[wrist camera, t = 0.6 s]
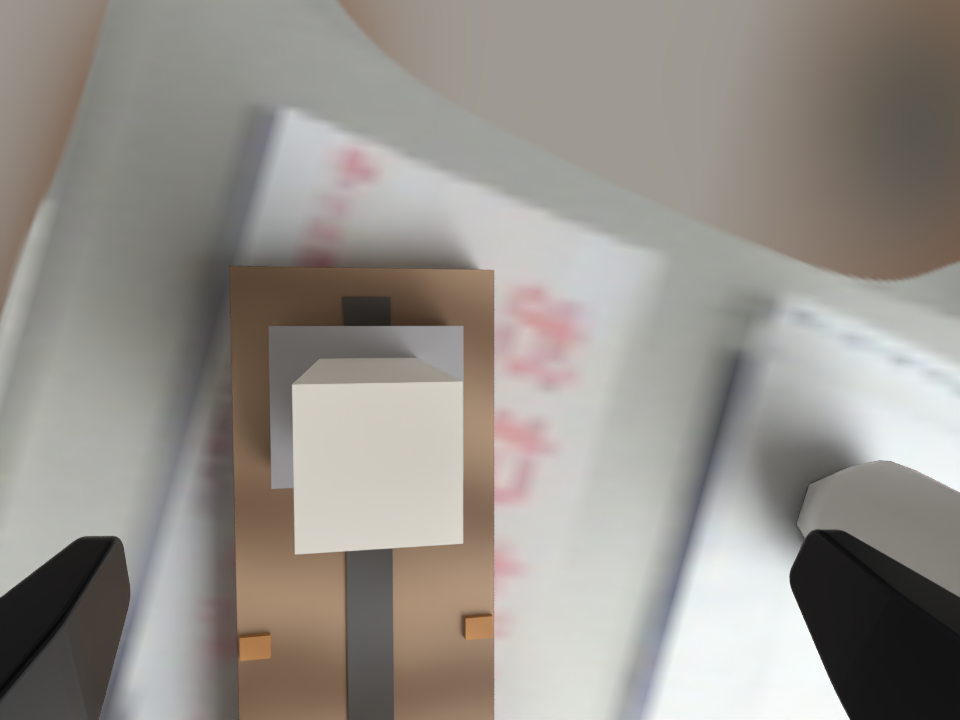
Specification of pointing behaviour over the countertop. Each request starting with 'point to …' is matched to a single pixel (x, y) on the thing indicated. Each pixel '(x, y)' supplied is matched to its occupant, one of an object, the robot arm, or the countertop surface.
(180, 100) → the countertop surface
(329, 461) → the fader tab
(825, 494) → the salt shaker
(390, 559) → the brown slider track board
